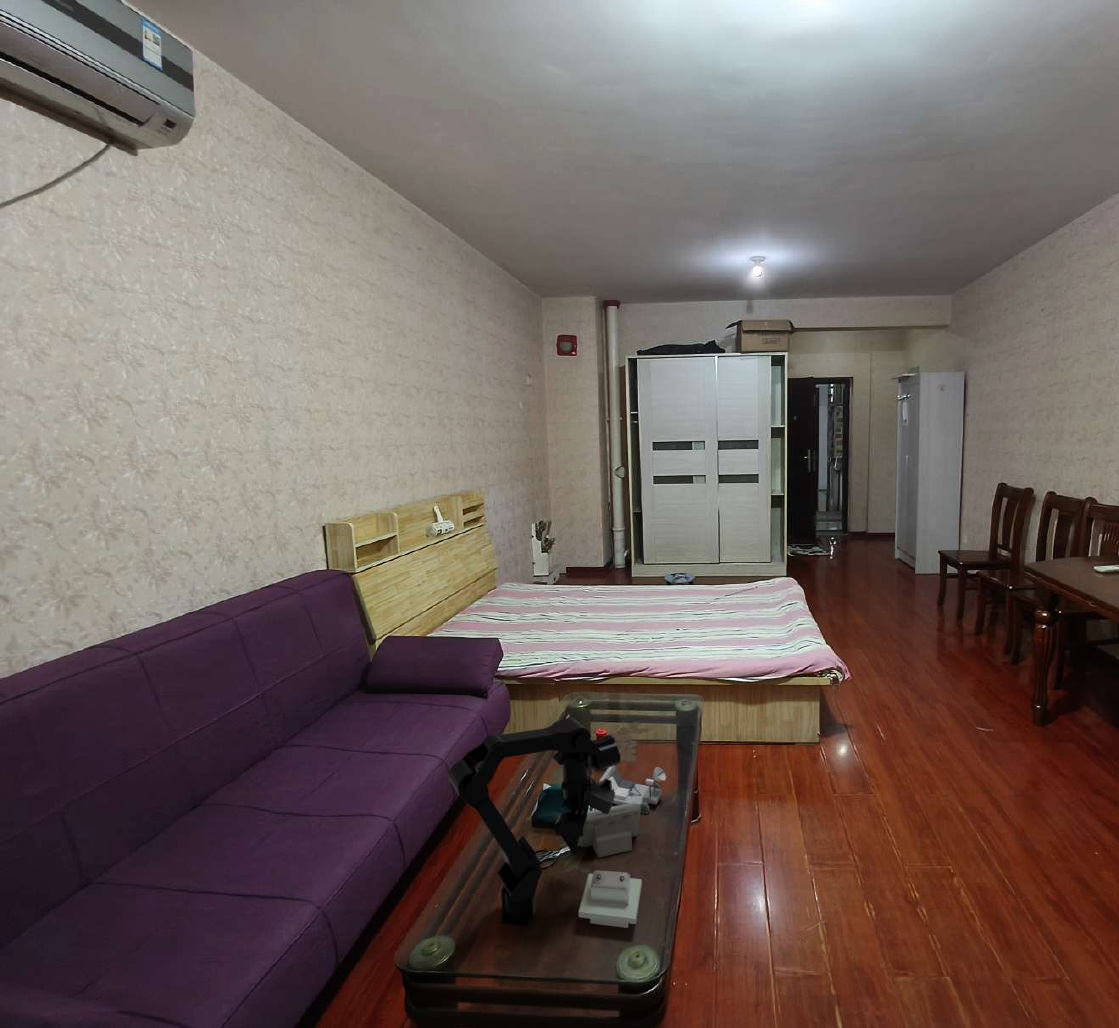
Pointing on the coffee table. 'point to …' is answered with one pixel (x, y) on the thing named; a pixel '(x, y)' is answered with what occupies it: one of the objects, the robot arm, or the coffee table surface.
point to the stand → (611, 907)
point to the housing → (610, 887)
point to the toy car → (635, 789)
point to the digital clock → (611, 829)
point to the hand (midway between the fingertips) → (578, 840)
